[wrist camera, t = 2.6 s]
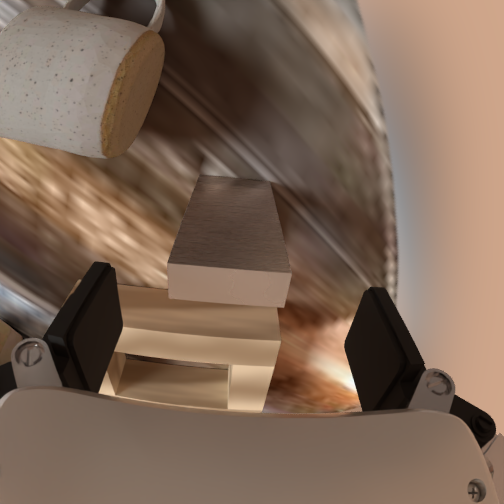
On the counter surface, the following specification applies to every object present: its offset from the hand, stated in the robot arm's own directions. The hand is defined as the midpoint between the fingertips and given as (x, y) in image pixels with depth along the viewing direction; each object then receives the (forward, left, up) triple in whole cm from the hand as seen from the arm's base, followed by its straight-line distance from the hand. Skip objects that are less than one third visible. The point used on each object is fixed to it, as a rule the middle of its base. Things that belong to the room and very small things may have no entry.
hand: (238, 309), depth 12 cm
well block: (+14, -4, -11) cm, 18 cm away
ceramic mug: (-9, -9, -11) cm, 17 cm away
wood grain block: (+1, 0, -11) cm, 11 cm away
